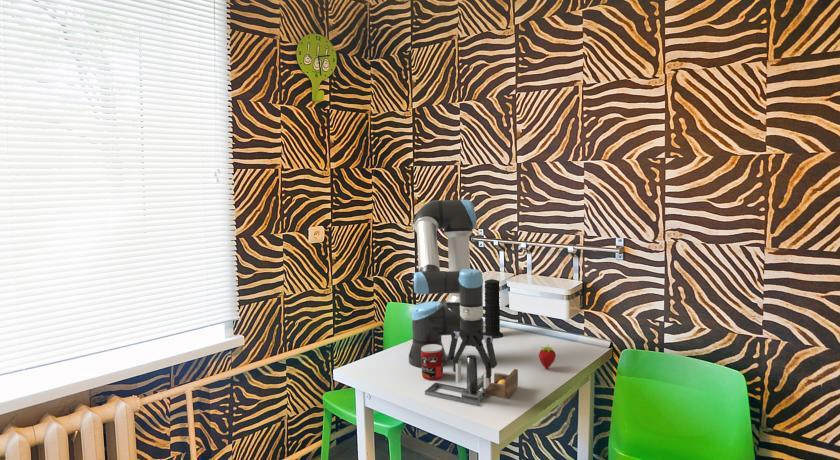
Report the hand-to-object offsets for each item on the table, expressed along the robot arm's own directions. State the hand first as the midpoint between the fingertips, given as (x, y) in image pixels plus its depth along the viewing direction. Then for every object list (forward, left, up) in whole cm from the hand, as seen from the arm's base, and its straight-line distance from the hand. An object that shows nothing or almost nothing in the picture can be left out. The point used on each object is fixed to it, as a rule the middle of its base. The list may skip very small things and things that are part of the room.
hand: (472, 384), depth 161 cm
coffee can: (-38, +64, -5) cm, 74 cm away
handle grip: (-18, +66, -5) cm, 68 cm away
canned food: (-21, +11, -5) cm, 24 cm away
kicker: (0, +5, -5) cm, 7 cm away
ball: (+9, +10, -4) cm, 14 cm away
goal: (+6, +10, -5) cm, 13 cm away
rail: (-6, 0, -5) cm, 7 cm away
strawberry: (+15, +36, -5) cm, 40 cm away
